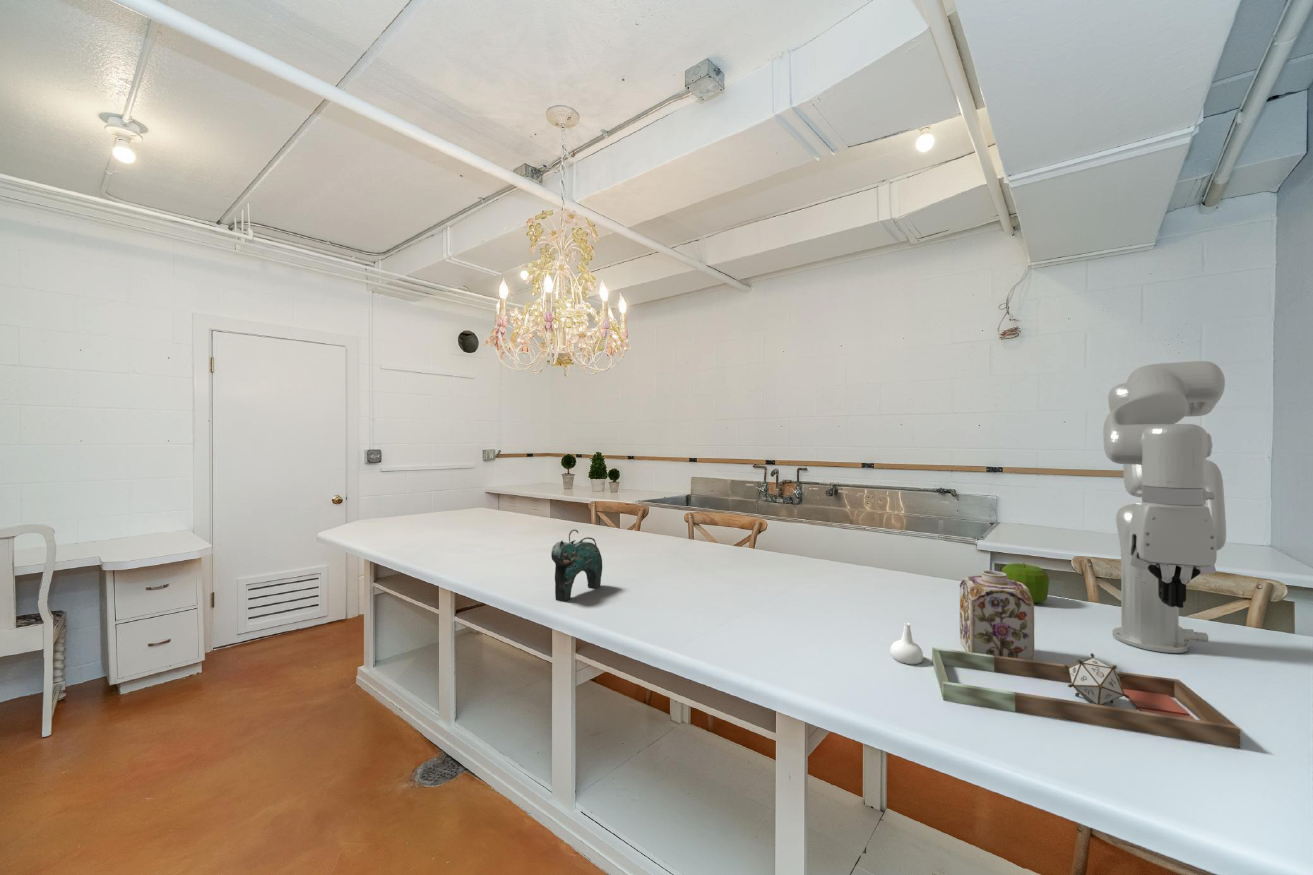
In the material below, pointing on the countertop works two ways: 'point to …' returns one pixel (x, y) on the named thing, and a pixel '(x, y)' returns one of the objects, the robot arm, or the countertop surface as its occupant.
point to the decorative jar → (996, 616)
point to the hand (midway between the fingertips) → (1172, 604)
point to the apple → (1029, 579)
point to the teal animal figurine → (575, 565)
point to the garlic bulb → (906, 648)
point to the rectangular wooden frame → (1144, 691)
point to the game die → (1096, 681)
